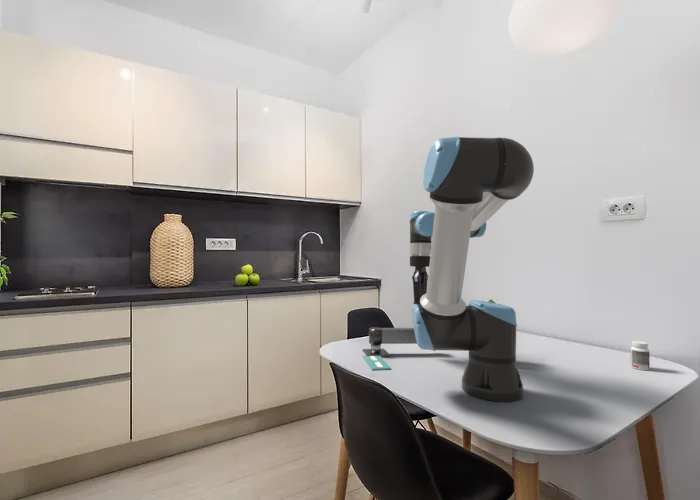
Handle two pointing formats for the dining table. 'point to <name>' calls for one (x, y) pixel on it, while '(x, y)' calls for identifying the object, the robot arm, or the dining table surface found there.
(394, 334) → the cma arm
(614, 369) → the dining table surface
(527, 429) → the dining table surface
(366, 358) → the label
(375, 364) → the label
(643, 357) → the pill bottle
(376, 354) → the grey square stand
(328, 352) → the dining table surface
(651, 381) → the dining table surface
